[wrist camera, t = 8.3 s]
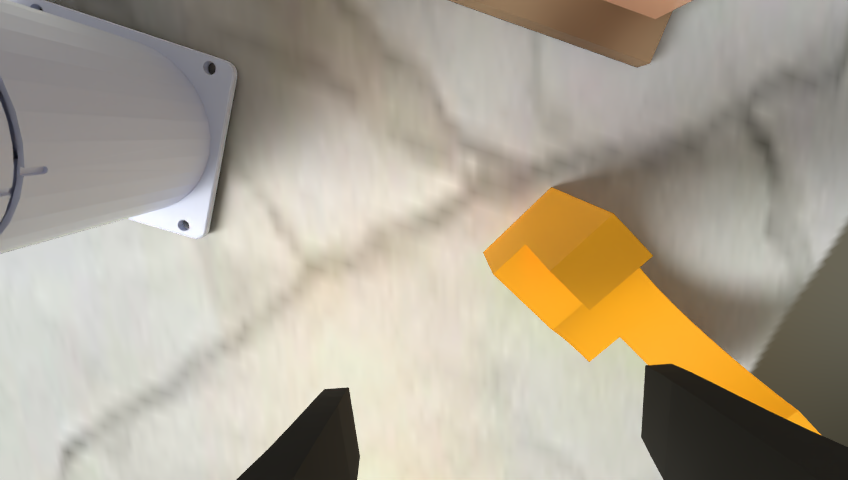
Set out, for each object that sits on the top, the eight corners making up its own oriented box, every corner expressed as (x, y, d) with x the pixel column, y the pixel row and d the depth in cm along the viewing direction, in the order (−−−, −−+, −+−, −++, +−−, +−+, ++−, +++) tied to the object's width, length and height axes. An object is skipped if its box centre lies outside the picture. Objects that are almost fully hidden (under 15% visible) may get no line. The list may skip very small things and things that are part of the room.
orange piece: (482, 251, 19) (509, 308, 13) (550, 186, 18) (613, 213, 12) (638, 400, 21) (726, 511, 15) (705, 348, 20) (828, 443, 14)
